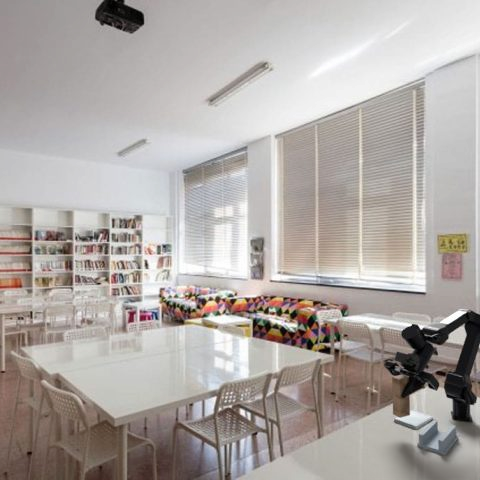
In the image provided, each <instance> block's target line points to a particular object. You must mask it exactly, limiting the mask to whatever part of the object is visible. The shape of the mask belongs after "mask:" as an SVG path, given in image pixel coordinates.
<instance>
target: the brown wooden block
mask: <svg viewBox="0 0 480 480" xmlns="http://www.w3.org/2000/svg"><path fill="white" fill-rule="evenodd" d="M391 379H392V384H391V385H392V415H393V416H395V417H396V418H397V417H400V418H401V417H405V416H408V415H410V411H411V401H410V398H411V396H410V395H411V394H410V395H408V396H406V397H405V398H402V397H401V395H402V393H403V391H404V389H405V387H406V385H407V383H408V381H409V376H406V375H405V376H404V375H398V376H392V377H391Z"/></svg>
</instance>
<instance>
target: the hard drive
mask: <svg viewBox="0 0 480 480" xmlns="http://www.w3.org/2000/svg"><path fill="white" fill-rule="evenodd" d="M431 420H432V421H433V420H434V417H433V416H432V415H428V414H426V413H422V412H419V411H416V410H413V409H411V410H410V415H408V416H405V417H401V418H400V417H397V416H396V418H394V419H393V422H394V423H396V422H397V424H399V425H402V426H404V427H409V428H411V429H413V430H418V429H420V428H421V427H423V426H425V425H427V424H429V423H431V422H432V421H431Z"/></svg>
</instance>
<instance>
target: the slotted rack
mask: <svg viewBox="0 0 480 480" xmlns="http://www.w3.org/2000/svg"><path fill="white" fill-rule="evenodd" d="M438 426H439V424H438V420H437V419H436V420H435V419H433V420H432V421H430V422H429V423H428V425H427V426H426V427H425V428H424V429H423V430H422V431H421V432H419V433H418V442H417V448H421V449H424V450H427V451H430V452H434V453H437V454H440V455H442V456H446V454H447V453H448V452H449V451H450V449H452V447H453V446H454V444H455V443H456V442H457V441H458V440H459V435H457V425H454V424H451V425H450V426H449V428H448V429H447V430H446V431H443V430H439V429H438V428H439V427H438Z"/></svg>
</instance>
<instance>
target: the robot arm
mask: <svg viewBox="0 0 480 480" xmlns="http://www.w3.org/2000/svg"><path fill="white" fill-rule="evenodd" d="M462 326H464V327H463V328H464V331H465V335H466V336H465V339H464V341H463V345H462V346H461V347H462V348H461V351H460V354H459V357H458V361H457V363H456V367H455V369H454V371H452V372H447V374H446V377H445V379H444V381H443V383H444V384H443V389H444V393H445V397H446V398H448V399H450V400H451V401H452V404H451V405H452V410H451V411H450V416H451V420H456V421H465V422H471V423H472V422H473V420H474V419H473V417H472V415H471V406H475V404H477V401H478V397H477V396H476V394H475V393H474V392H473V382H472V381H471V374H472V370H473V367H474V364H475V360H476V358H477V354H478V351H479V348H480V313H478V312H475V311H473V310H472V309H467V308H458V309H456V311H455V312H454V313H452V314H451V315H449V316H447V317H446V318H444V319H442V320H441V321H440V322H438V323H430V324H428V325H425V326H422V329H421V328H420V326H419V325H418V324H416V323H412V324H411V325H410V326H406V327H404V329H402V330H401V333H400V336H401V338H402V339H403V340H404V341H405V343H407V345H408V346H409V348H411V349H412V350H413V351H412V353H404V352H401V351H396V353H395V356H394V360H390V359H389V360H386V361H385V362H384V364H383V366H384V368H385V370H387V372H389V374H390V375H392V377H394V376H398V375H404V376H407V377H409V381H408V383H407V385H406V387H405V389H404V391H403V393H402V395H401V397H402V398H405V397H406V396H408V395H411V394H414V393H415V392H418V391H420V390H421V389H425V388H426V387H425V384H427V386H428V389H430V390H433V391H438V390H439V387H440V382H439V380H438V379H437V378H436V376H434V374H433V373H431V372H427V371H425V369H426V370H428V369H429V368H430V366H429V365H428V364H429V363H430V360H432V359H431V358H432V356H438V355H439V353H438V349H437V347H436V346H437V345H438V346H442V345H444V344H445V343H446V342H447V341H448V340H449V337H450V335H451V333H453V332H455V331H456V330H457V329H459V328H461V327H462ZM434 345H436V346H434ZM398 362H399V363H400V364H398ZM402 367H403V368H402Z"/></svg>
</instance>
